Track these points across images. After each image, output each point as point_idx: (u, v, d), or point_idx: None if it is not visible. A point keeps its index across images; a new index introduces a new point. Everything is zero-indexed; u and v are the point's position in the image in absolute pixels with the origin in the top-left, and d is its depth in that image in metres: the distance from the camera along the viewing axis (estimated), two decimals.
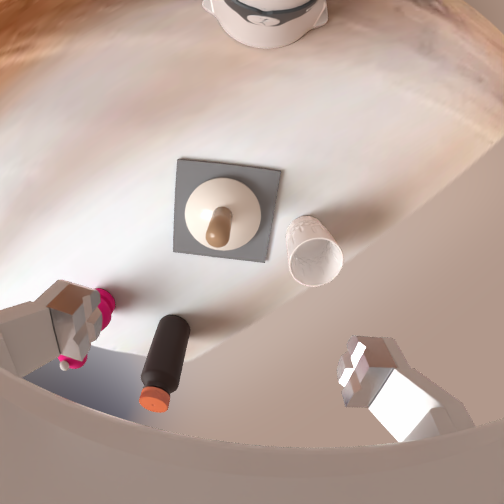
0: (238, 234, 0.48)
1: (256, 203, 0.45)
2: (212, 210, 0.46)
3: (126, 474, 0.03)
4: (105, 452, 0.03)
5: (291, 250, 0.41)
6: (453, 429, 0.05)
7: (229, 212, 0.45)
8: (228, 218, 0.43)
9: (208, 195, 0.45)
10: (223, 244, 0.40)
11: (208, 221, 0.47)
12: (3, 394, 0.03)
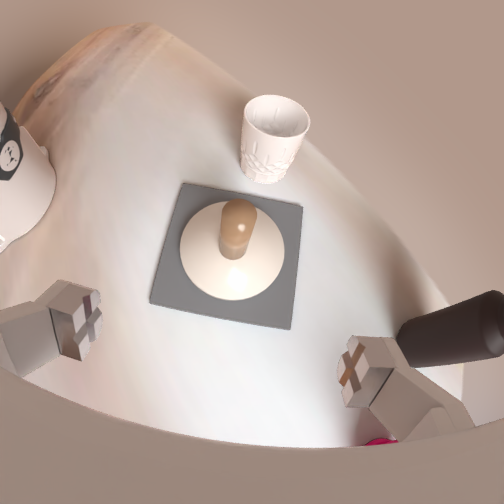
0: (260, 229, 0.35)
1: (217, 204, 0.36)
2: (223, 258, 0.33)
3: (126, 474, 0.03)
4: (105, 452, 0.03)
5: (263, 139, 0.31)
6: (453, 429, 0.05)
7: None
8: None
9: (201, 261, 0.33)
10: (252, 207, 0.27)
11: (239, 266, 0.33)
12: (3, 394, 0.03)
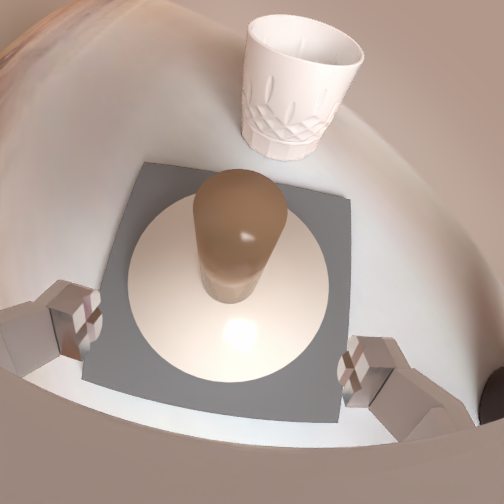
0: (282, 239, 0.18)
1: None
2: (211, 301, 0.16)
3: (126, 474, 0.03)
4: (105, 452, 0.03)
5: (286, 69, 0.14)
6: (453, 429, 0.05)
7: None
8: None
9: (168, 309, 0.16)
10: (273, 190, 0.10)
11: (244, 315, 0.16)
12: (4, 395, 0.03)
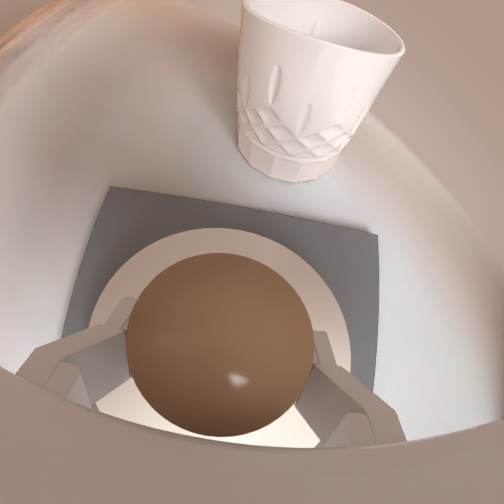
0: None
1: (177, 239, 0.14)
2: None
3: (126, 474, 0.03)
4: (105, 452, 0.03)
5: (301, 55, 0.09)
6: (372, 441, 0.05)
7: None
8: None
9: (137, 399, 0.11)
10: (286, 300, 0.05)
11: None
12: (4, 395, 0.03)
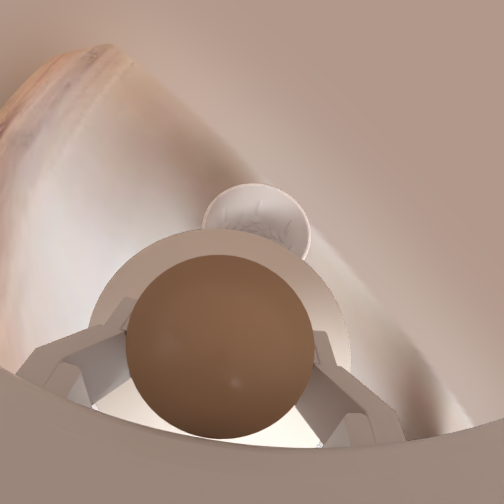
0: None
1: (176, 239, 0.14)
2: None
3: (126, 474, 0.03)
4: (105, 452, 0.03)
5: None
6: (372, 442, 0.05)
7: None
8: None
9: (137, 399, 0.11)
10: (286, 302, 0.05)
11: None
12: (4, 395, 0.03)
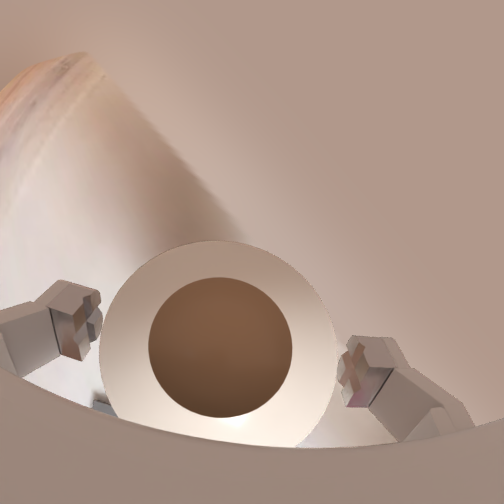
0: (283, 308, 0.15)
1: (181, 251, 0.15)
2: None
3: (126, 474, 0.03)
4: (105, 452, 0.03)
5: None
6: (453, 429, 0.05)
7: None
8: None
9: (146, 394, 0.12)
10: (271, 314, 0.07)
11: None
12: (4, 395, 0.03)
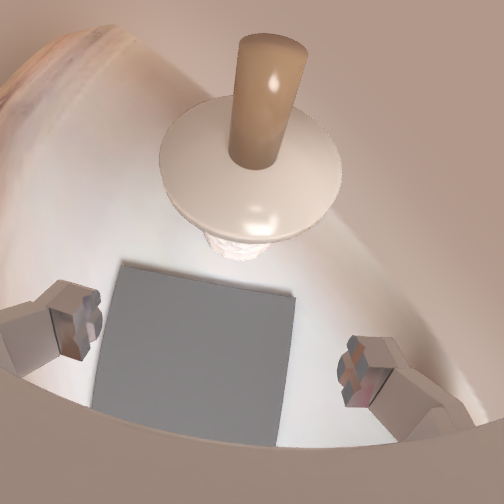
0: (297, 129, 0.20)
1: (225, 98, 0.20)
2: (237, 167, 0.18)
3: (126, 474, 0.03)
4: (105, 452, 0.03)
5: None
6: (453, 429, 0.05)
7: None
8: None
9: (196, 173, 0.17)
10: (296, 43, 0.12)
11: (267, 179, 0.18)
12: (4, 395, 0.03)
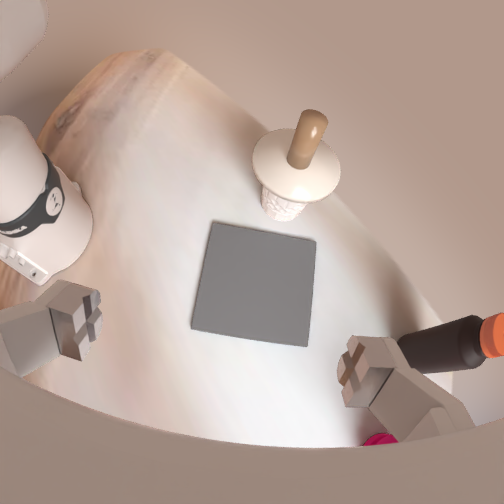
0: (318, 149, 0.39)
1: (280, 130, 0.39)
2: (291, 168, 0.37)
3: (126, 474, 0.03)
4: (105, 452, 0.03)
5: None
6: (453, 429, 0.05)
7: None
8: None
9: (273, 169, 0.36)
10: (323, 115, 0.31)
11: (306, 174, 0.37)
12: (4, 395, 0.03)
